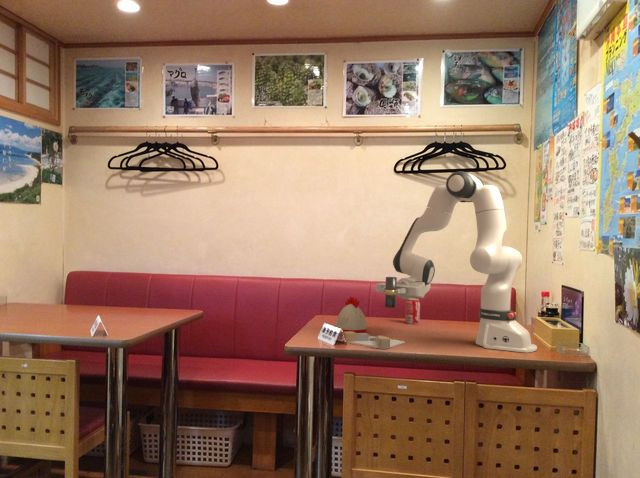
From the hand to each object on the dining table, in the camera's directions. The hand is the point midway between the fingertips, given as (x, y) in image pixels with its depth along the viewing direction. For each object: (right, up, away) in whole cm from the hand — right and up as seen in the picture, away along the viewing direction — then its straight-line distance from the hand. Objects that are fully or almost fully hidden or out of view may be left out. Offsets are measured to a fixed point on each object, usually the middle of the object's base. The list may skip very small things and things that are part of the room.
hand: (389, 290), depth 202 cm
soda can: (+17, -21, +44) cm, 52 cm away
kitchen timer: (-14, -20, +19) cm, 31 cm away
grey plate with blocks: (-8, -20, -4) cm, 22 cm away
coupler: (0, -7, +1) cm, 7 cm away
